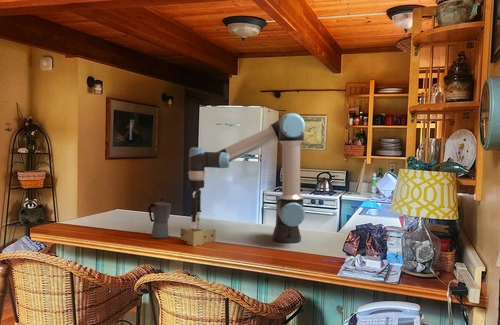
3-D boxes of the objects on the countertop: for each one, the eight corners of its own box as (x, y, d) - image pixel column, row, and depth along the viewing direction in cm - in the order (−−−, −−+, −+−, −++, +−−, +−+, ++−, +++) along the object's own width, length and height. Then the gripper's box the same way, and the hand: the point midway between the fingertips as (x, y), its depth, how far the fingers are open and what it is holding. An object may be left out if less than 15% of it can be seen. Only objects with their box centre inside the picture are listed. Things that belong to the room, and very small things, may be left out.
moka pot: (176, 235, 212) (177, 198, 211) (155, 241, 199) (156, 201, 198) (163, 233, 217) (163, 196, 216) (141, 238, 204) (142, 199, 203)
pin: (200, 244, 195) (200, 218, 194) (193, 245, 193) (194, 219, 191) (195, 242, 198) (196, 216, 196) (189, 243, 195) (190, 217, 194)
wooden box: (217, 242, 201) (218, 228, 201) (193, 246, 191) (193, 231, 191) (200, 236, 212) (200, 223, 212) (176, 240, 202) (176, 226, 202)
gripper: (192, 177, 204) (191, 222, 205) (184, 180, 184) (183, 230, 185) (207, 178, 204) (206, 223, 205) (201, 181, 184) (199, 231, 185)
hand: (195, 226), depth 195 cm, fingers open, 7 cm apart
